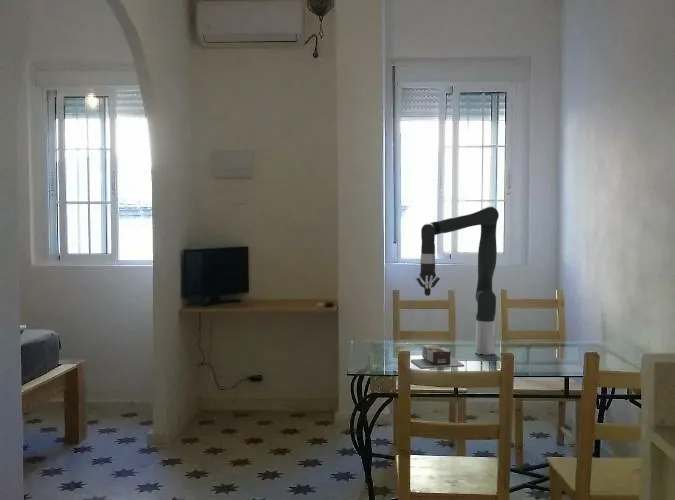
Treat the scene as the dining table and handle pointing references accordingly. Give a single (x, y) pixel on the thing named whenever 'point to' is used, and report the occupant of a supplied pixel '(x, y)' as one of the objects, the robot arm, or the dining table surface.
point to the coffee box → (436, 354)
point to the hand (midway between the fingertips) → (427, 295)
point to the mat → (425, 364)
